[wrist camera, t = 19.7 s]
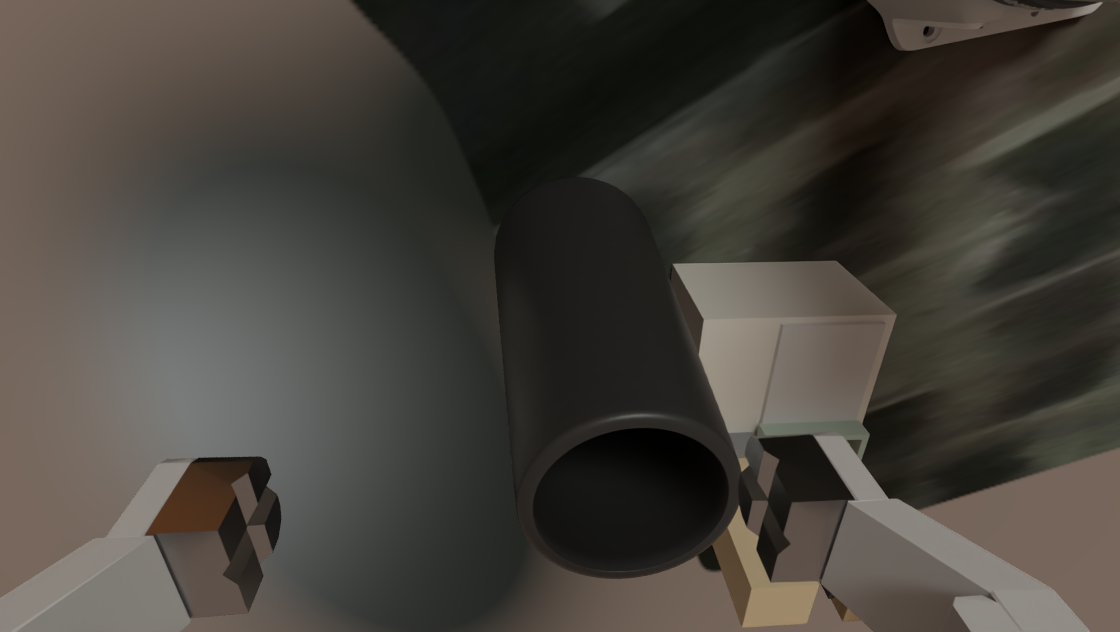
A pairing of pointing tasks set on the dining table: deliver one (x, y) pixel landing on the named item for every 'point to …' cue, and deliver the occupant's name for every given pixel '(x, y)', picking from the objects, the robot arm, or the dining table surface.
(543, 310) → the vase
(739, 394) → the grey boxy piece
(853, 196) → the dining table surface
